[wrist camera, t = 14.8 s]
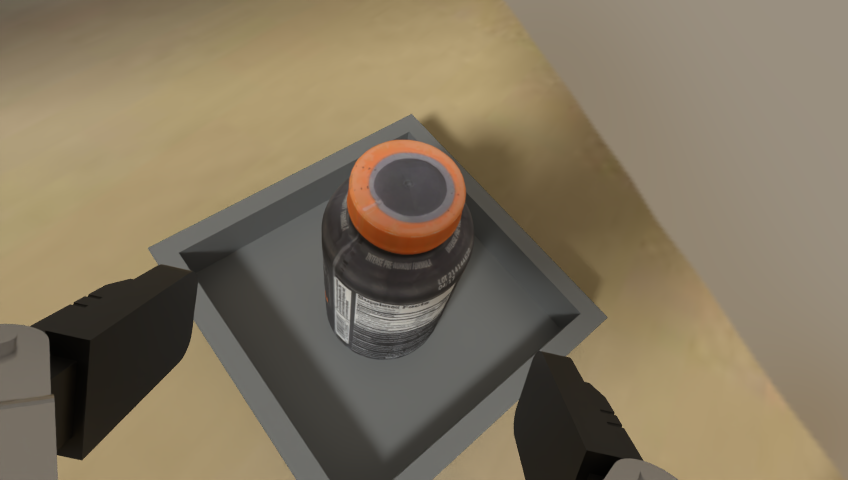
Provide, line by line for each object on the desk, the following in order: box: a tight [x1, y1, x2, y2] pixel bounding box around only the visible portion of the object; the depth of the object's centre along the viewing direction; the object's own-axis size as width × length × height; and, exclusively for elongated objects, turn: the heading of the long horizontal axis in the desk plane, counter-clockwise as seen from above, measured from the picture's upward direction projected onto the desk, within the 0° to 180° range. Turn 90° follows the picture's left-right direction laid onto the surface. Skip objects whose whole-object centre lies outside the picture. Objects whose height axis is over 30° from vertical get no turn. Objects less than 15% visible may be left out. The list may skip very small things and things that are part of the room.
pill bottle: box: [322, 140, 474, 360], centre depth 21 cm, size 6×6×11 cm
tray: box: [148, 114, 608, 480], centre depth 26 cm, size 16×16×4 cm
